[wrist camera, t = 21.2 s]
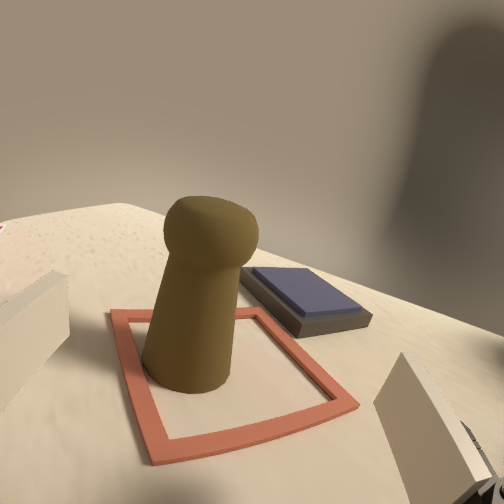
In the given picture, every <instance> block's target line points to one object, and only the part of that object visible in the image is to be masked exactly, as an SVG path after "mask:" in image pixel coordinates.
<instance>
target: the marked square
mask: <svg viewBox="0 0 504 504" xmlns="http://www.w3.org/2000/svg"><path fill="white" fill-rule="evenodd" d="M152 314H153V310H126V309H110V315H111V320H112V325H113V330H114V335H115V339H116V344H117V348H118V353H119V357H120V361H121V365H122V369H123V373H124V377H125V381H126V384H127V388H128V392H129V395H130V399H131V402H132V406H133V409H134V412H135V415H136V419H137V422H138V425H139V428H140V431H141V434H142V437H143V440H144V443H145V445H146V448H147V451H148V454H149V457H150V459H151V462H152V464H153V466H155V465H163V464H169V463H176V462H181V461H187V460H193V459H198V458H203V457H208V456H212V455H217V454H221V453H226V452H230V451H234V450H238V449H242V448H246V447H249V446H253V445H257V444H260V443H264V442H267V441H270V440H274V439H277V438H280V437H283V436H286V435H289V434H292V433H295V432H298V431H301V430H304V429H307V428H310V427H313V426H315V425H318V424H321V423H323V422H326V421H329V420H331V419H334V418H336V417H339V416H341V415H344V414H346V413H348V412H351V411H353V410H355V409H358V407H359V406H360V404H359V403H358V402H357V401H356V400H355V399H354V398H353V397H352V396H351V395H350V394H349V393H348V392H347V391H346V390H345V389H344V388H343V387H342V386H340V385H339V384H338V383H337V382H336V381H335V380H334V379H333V378H332V377H331V376H330V375H329V374H328V373H327V372H326V371H325V370H324V369H323V368H322V367H321V366H320V365H319V364H318V363H317V362H316V361H315V360H314V359H313V358H312V357H311V356H310V355H309V354H308V353H306V352H305V351H304V350H303V349H302V348H301V347H300V346H299V345H298V344H297V343H296V342H295V341H294V340H293V339H292V338H291V337H290V336H289V335H288V334H287V333H286V332H285V331H284V330H283V329H282V328H281V327H280V326H279V325H278V324H277V323H276V322H275V321H274V320H273V319H272V318H271V317H270V316H269V315H268V314H267V313H266V312H265V311H264V310H263V309H262V308H261V307H246V308H236V315H235V319H241V318H256V319H257V320H258V321H259V322H260V324H261V325H262V326H263V327H264V328H265V329H266V330H267V331H268V332H269V333H270V334H271V335H272V336H273V338H274V339H275V340H276V341H277V342H278V343H279V344H280V345H281V346H282V347H283V348H284V349H285V350H286V351H287V352H288V354H289V355H290V356H291V357H292V358H293V359H294V360H295V361H296V362H297V363H298V364H299V365H300V366H301V367H302V368H303V369H304V370H305V371H306V372H307V373H308V375H309V376H310V377H311V378H312V379H313V380H314V381H315V382H316V383H317V384H318V385H319V386H320V387H321V388H322V389H323V390H324V391H325V392H326V393H327V394H328V395H329V396H330V397H331V398H332V399H333V400H332V401H329V402H326V403H323V404H320V405H317V406H314V407H311V408H308V409H305V410H301V411H298V412H295V413H292V414H288V415H285V416H281V417H278V418H274V419H270V420H266V421H263V422H259V423H255V424H251V425H246V426H242V427H238V428H233V429H229V430H224V431H219V432H214V433H209V434H203V435H198V436H192V437H186V438H179V439H173V440H169V438H168V436H167V434H166V431H165V429H164V426H163V424H162V421H161V419H160V416H159V414H158V411H157V408H156V406H155V403H154V400H153V398H152V395H151V392H150V389H149V386H148V384H147V381H146V378H145V375H144V372H143V369H142V366H141V363H140V360H139V357H138V353H137V350H136V347H135V344H134V340H133V337H132V333H131V330H130V326H129V323H128V322H151V318H152Z"/></svg>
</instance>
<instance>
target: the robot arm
mask: <svg viewBox="0 0 504 504" xmlns="http://www.w3.org/2000/svg"><path fill="white" fill-rule="evenodd" d="M69 335H70V330H69V309H68V275H65V274H62V273H59V272H56V271H53V270H52V271H51V272H49V273H48V274H46V275H45V276H43V277H42V278H40V279H39V280H37V281H36V282H34V283H33V284H31V285H30V286H28V287H27V288H25V289H24V290H22V291H21V292H20V293H18V294H17V295H15V296H14V297H12V298H11V299H10V300H8V301H7V302H5V303H4V304H3V305H1V306H0V415H1V414H2V413H3V411H4V410H5V409H6V408H7V406H8V405H9V404H10V403H11V401H12V400H13V399H14V398H15V397H16V395H17V394H18V393H19V392H20V391H21V389H22V388H23V387H24V386H25V385H26V384H27V382H28V381H29V380H30V379H31V378H32V377H33V375H34V374H35V373H36V372H37V371H38V370H39V369H40V367H41V366H42V365H43V364H44V363H45V362H46V361H47V360H48V358H49V357H50V356H51V355H52V354H53V353H54V352H55V351H56V350H57V348H58V347H59V346H60V345H61V344H62V343H63V342H64V341H65V340H66V339H67V338H68V336H69ZM373 403H374V406H375V408H376V411H377V413H378V416H379V419H380V421H381V424H382V426H383V429H384V431H385V434H386V437H387V439H388V442H389V445H390V447H391V450H392V453H393V455H394V458H395V461H396V464H397V466H398V469H399V472H400V475H401V478H402V480H403V483H404V486H405V489H406V492H407V495H408V498H409V501H410V504H504V478H500V479H499V478H498V477H497V475H496V473H495V471H494V470H493V468H492V466H491V464H490V462H489V461H488V459H487V457H486V455H485V454H484V452H483V450H481V447H480V445H479V444H478V442H476V439H475V437H474V435H473V434H472V432H471V430H470V429H469V428H468V427H467V426H466V425H465V424H464V423H463V422H461V421H460V420H459V418H458V417H457V415H456V414H455V412H454V410H453V409H452V407H451V406H450V404H449V403H448V401H447V399H446V398H445V396H444V395H443V393H442V392H441V390H440V389H439V387H438V386H437V384H436V382H435V381H434V379H433V378H432V376H431V375H430V373H429V372H428V370H427V369H426V367H425V366H424V365H423V363H422V362H421V360H420V359H419V357H418V356H417V354H415V353H407V352H401V353H400V355H399V357H398V359H397V361H396V363H395V365H394V367H393V368H392V370H391V372H390V374H389V376H388V378H387V379H386V381H385V383H384V385H383V386H382V388H381V390H380V392H379V393H378V395H377V397H376V398H375V400H374V402H373Z"/></svg>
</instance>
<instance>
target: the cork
mask: <svg viewBox="0 0 504 504" xmlns="http://www.w3.org/2000/svg"><path fill="white" fill-rule="evenodd" d="M258 230H259V229H258V225H257V222H256V218H255V216H254V215H253V214H252V213H251V212H250V211H249V210H247V209H246V208H244V207H242V206H240V205H238V204H235V203H233V202H230V201H227V200H224V199H220V198H215V197H209V196H188V197H184V198H181V199H179V200H177V201H176V202H175V203H174V205H173V206H172V207H171V208H170V209H169V211H168V213H167V216H166V218H165V222H164V229H163V231H164V241H165V244H166V247H167V249H168V251H169V253H170V254H169V257H168V261H167V264H166V267H165V271H164V274H163V278H162V281H161V285H160V288H159V292H158V295H157V299H156V303H155V307H154V310H153V314H152V318H151V322H150V326H149V330H148V334H147V338H146V342H145V346H144V350H143V354H142V361H143V367H144V368H145V370H146V372H147V373H148V375H149V376H150V377H151V378H152V379H154V380H155V381H156V382H157V383H158V384H160V385H162V386H164V387H166V388H168V389H171V390H173V391H178V392H182V393H187V394H194V393H205V392H209V391H212V390H215V389H217V388H218V387H220V386H221V385H223V384H224V383H225V382H226V380H227V378H228V376H229V375H230V364H231V354H232V344H233V335H234V325H235V315H236V305H237V296H238V286H239V277H240V268H241V267H242V266H243V265H244V264H246V263H247V262H248V261H249V260H250V259H251V257H252V255H253V253H254V251H255V250H256V246H257V243H258Z"/></svg>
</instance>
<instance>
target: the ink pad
mask: <svg viewBox="0 0 504 504" xmlns="http://www.w3.org/2000/svg"><path fill="white" fill-rule="evenodd" d="M239 281H240V282H241V283H242V284H243V285H244V286H245V287H246V288H247V289H248V290H249V291H250V292H251V293H252V294H253V295H254V296H255V297H256V298H257V299H258V300H259V301H260V302H261V303H262V304H263V305H264V306H265V307H266V308H267V309H268V310H269V311H270V312H271V313H272V314H273V315H274V316H275V317H276V318H277V319H278V320H279V321H280V322H281V323H282V324H283V325H284V326H285V327H286V328H287V329H288V330H289V331H290V332H291V333H292V334H293V335H294V336H295V337H296V338H304V337H310V336H317V335H323V334H329V333H335V332H341V331H347V330H352V329H358V328H363V327H368V325H369V323H370V320H371V318H372V316H373V314H371V313H370V312H368V311H367V310H366V309H364V308H363V307H362V306H361V305H359V304H358V303H356V302H355V301H354V300H352V299H351V298H349V297H348V296H346V295H345V294H344V293H342V292H341V291H339V290H338V289H336V288H335V287H333V286H332V285H331V284H329V283H328V282H326V281H325V280H323V279H322V278H320V277H319V276H318V275H316V274H315V273H313V272H312V271H310V270H309V269H307V268H277V267H241V268H240V277H239Z"/></svg>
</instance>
